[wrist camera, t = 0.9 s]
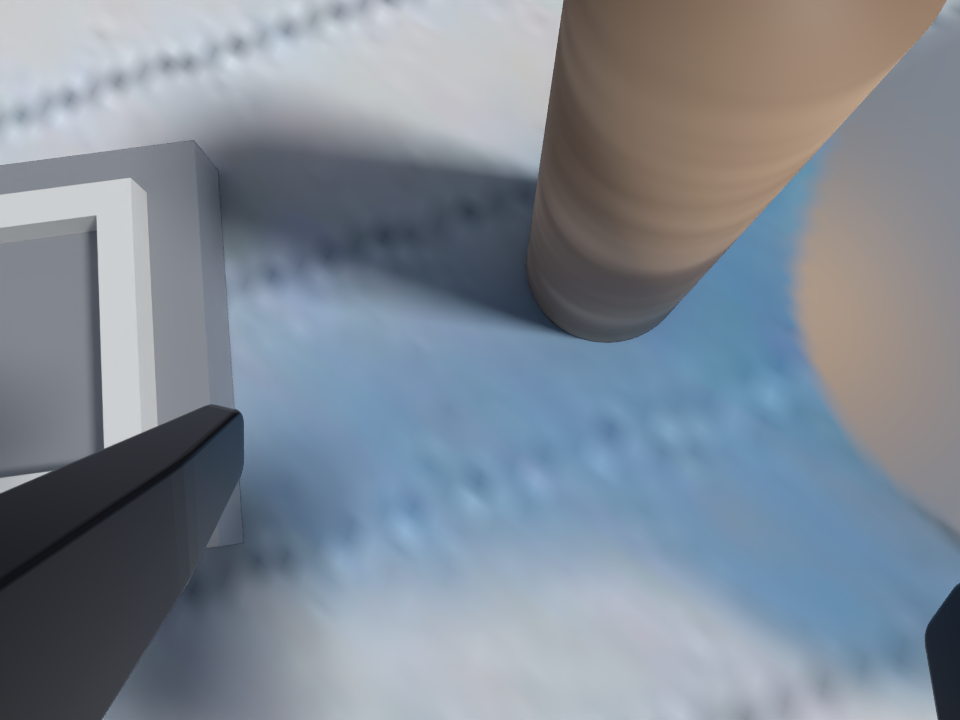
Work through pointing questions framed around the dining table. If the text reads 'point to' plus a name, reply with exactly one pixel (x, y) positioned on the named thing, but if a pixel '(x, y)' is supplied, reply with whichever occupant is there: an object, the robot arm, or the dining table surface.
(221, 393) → the base
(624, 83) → the post
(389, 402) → the dining table surface
